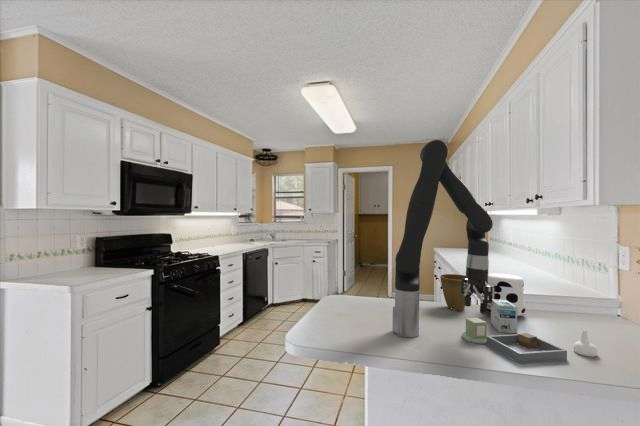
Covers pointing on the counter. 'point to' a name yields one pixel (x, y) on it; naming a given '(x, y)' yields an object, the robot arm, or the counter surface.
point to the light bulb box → (504, 316)
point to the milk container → (507, 290)
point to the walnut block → (527, 340)
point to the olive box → (476, 328)
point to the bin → (526, 357)
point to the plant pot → (453, 290)
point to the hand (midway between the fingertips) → (475, 309)
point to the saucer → (470, 339)
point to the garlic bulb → (585, 346)
